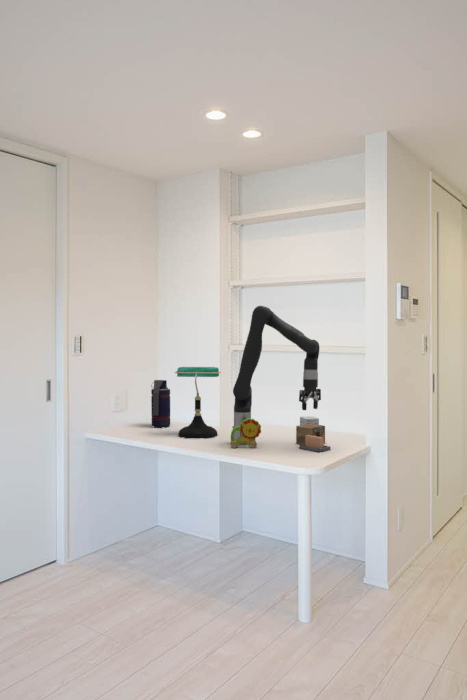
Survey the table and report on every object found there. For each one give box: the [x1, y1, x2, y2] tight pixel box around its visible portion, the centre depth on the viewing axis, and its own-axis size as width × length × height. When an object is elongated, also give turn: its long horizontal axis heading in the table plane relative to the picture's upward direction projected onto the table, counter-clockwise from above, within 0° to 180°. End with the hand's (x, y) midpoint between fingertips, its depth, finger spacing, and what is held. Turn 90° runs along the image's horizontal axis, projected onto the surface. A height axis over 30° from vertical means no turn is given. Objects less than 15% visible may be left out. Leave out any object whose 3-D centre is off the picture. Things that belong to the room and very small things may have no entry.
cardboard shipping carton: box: [295, 424, 326, 445], centre depth 309 cm, size 12×10×10 cm
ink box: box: [299, 415, 320, 426], centre depth 327 cm, size 9×9×12 cm
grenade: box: [150, 379, 171, 428], centre depth 367 cm, size 14×12×30 cm
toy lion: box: [230, 418, 262, 449], centre depth 299 cm, size 16×5×15 cm, turn 90°
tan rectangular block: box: [305, 435, 325, 449], centre depth 294 cm, size 2×10×6 cm, turn 42°
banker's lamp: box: [174, 366, 221, 439], centre depth 335 cm, size 26×23×40 cm
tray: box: [298, 444, 331, 453], centre depth 293 cm, size 9×13×2 cm
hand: (309, 409), depth 297 cm, fingers open, 8 cm apart
